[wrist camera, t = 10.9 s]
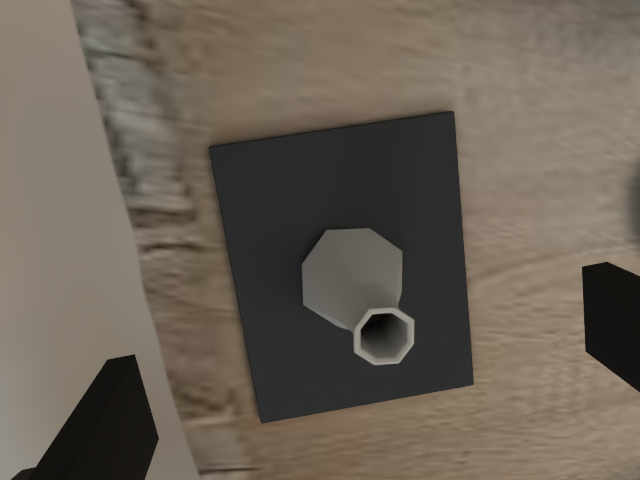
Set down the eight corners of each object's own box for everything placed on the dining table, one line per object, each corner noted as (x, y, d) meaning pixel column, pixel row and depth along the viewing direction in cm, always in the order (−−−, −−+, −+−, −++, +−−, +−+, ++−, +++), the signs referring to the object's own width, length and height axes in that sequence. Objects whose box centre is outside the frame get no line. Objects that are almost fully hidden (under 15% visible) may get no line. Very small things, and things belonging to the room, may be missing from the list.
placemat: (450, 111, 34) (454, 111, 33) (470, 380, 39) (474, 385, 38) (209, 146, 33) (208, 147, 32) (261, 418, 38) (261, 424, 37)
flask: (317, 212, 34) (337, 250, 24) (417, 241, 35) (475, 288, 25) (286, 312, 35) (294, 385, 26) (384, 336, 37) (426, 415, 27)
